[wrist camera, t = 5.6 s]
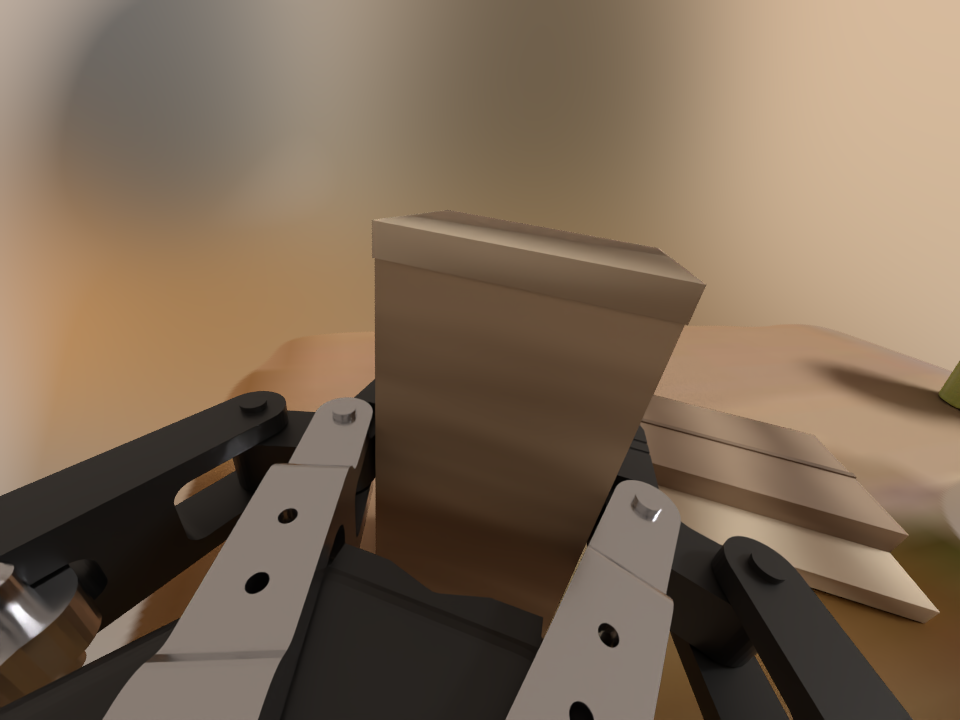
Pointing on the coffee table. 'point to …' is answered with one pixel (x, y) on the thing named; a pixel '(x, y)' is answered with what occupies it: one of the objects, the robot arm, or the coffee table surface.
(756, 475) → the floor board
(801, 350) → the coffee table surface
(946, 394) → the plant pot
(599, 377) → the plank
